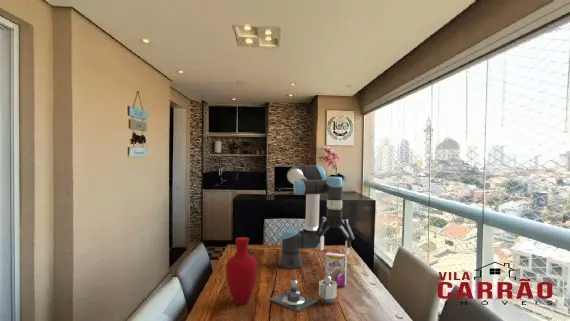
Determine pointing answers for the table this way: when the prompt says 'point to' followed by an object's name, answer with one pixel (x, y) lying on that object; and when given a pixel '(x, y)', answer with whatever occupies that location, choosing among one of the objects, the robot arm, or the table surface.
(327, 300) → the stand
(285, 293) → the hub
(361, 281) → the table surface
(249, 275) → the vase
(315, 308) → the table surface
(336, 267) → the candy bar box
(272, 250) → the table surface
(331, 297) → the bushing
